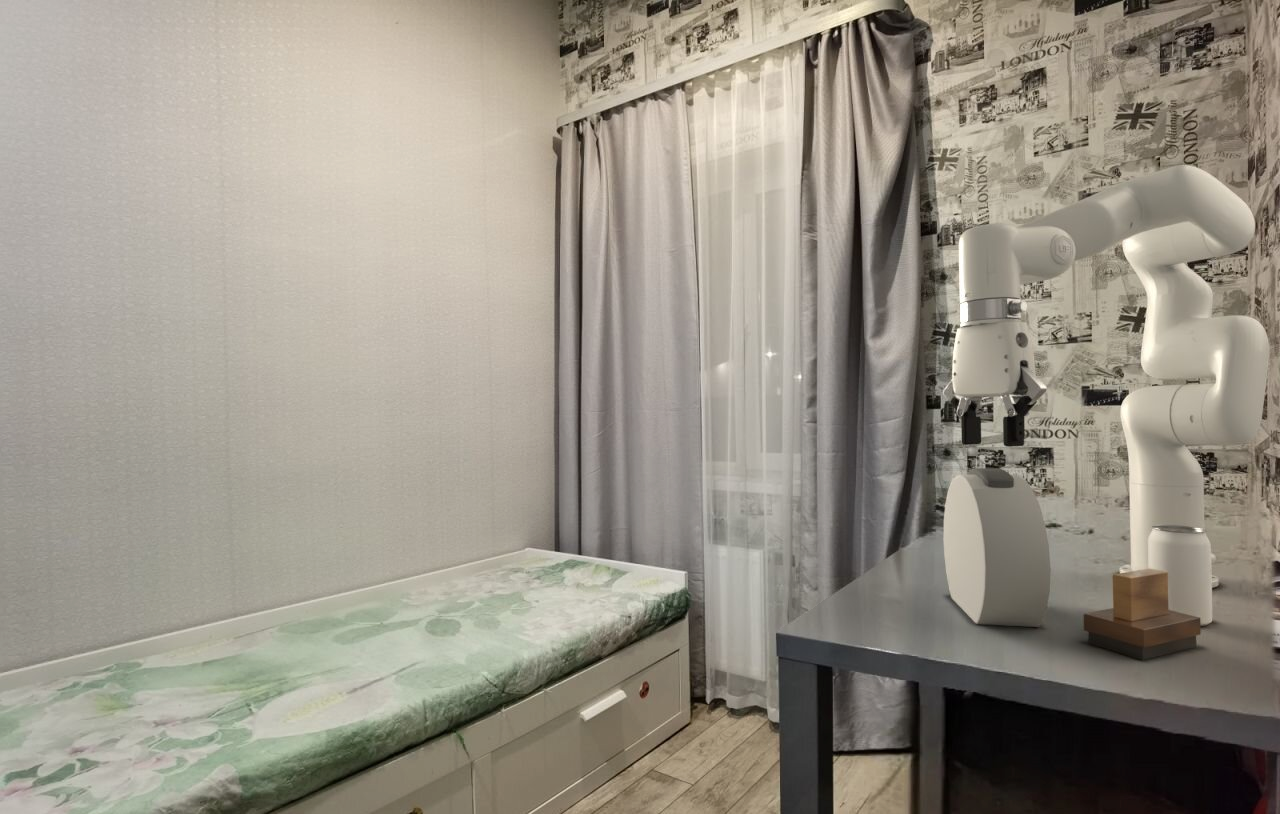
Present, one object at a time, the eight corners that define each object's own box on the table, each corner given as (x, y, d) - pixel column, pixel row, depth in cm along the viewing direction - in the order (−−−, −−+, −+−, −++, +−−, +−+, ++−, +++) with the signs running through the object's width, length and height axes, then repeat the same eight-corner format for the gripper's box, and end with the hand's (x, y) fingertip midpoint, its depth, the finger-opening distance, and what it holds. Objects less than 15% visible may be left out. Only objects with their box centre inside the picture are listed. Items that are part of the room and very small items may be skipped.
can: (1153, 608, 92) (1152, 522, 92) (1215, 618, 88) (1213, 527, 88) (1145, 619, 88) (1143, 528, 88) (1209, 630, 83) (1207, 534, 83)
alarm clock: (1052, 637, 81) (1049, 475, 81) (986, 634, 83) (983, 475, 83) (995, 591, 102) (993, 462, 102) (943, 589, 103) (941, 462, 104)
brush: (1139, 630, 83) (1138, 563, 83) (1201, 647, 77) (1199, 574, 77) (1084, 642, 79) (1082, 571, 79) (1144, 661, 73) (1142, 584, 73)
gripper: (1068, 307, 86) (1071, 447, 86) (957, 325, 102) (959, 442, 101) (1028, 304, 83) (1031, 448, 83) (921, 322, 99) (923, 443, 98)
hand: (992, 444), depth 92 cm, fingers open, 6 cm apart
